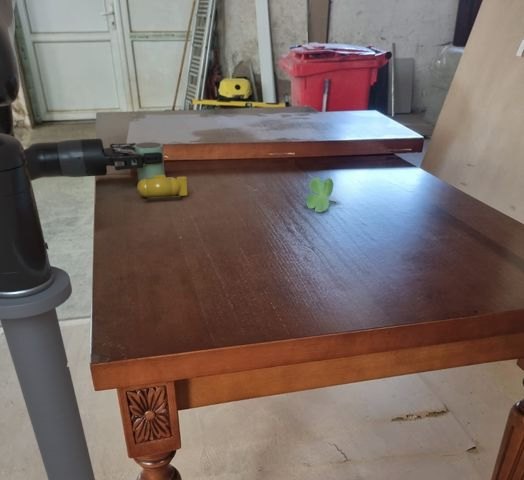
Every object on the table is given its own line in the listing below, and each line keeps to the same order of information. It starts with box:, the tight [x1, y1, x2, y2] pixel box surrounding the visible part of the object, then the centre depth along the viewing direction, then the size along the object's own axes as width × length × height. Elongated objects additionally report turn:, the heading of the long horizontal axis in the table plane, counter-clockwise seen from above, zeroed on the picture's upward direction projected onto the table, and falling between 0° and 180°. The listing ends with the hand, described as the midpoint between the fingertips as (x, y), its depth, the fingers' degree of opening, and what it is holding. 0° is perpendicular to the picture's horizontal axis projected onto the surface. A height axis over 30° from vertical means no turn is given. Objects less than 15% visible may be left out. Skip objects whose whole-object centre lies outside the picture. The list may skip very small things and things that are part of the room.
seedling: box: [305, 176, 337, 213], centre depth 108 cm, size 7×8×6 cm
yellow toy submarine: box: [136, 174, 188, 202], centre depth 110 cm, size 10×4×5 cm, turn 102°
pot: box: [134, 141, 166, 184], centre depth 118 cm, size 6×6×9 cm
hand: (159, 153), depth 117 cm, fingers closed on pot, 6 cm apart
